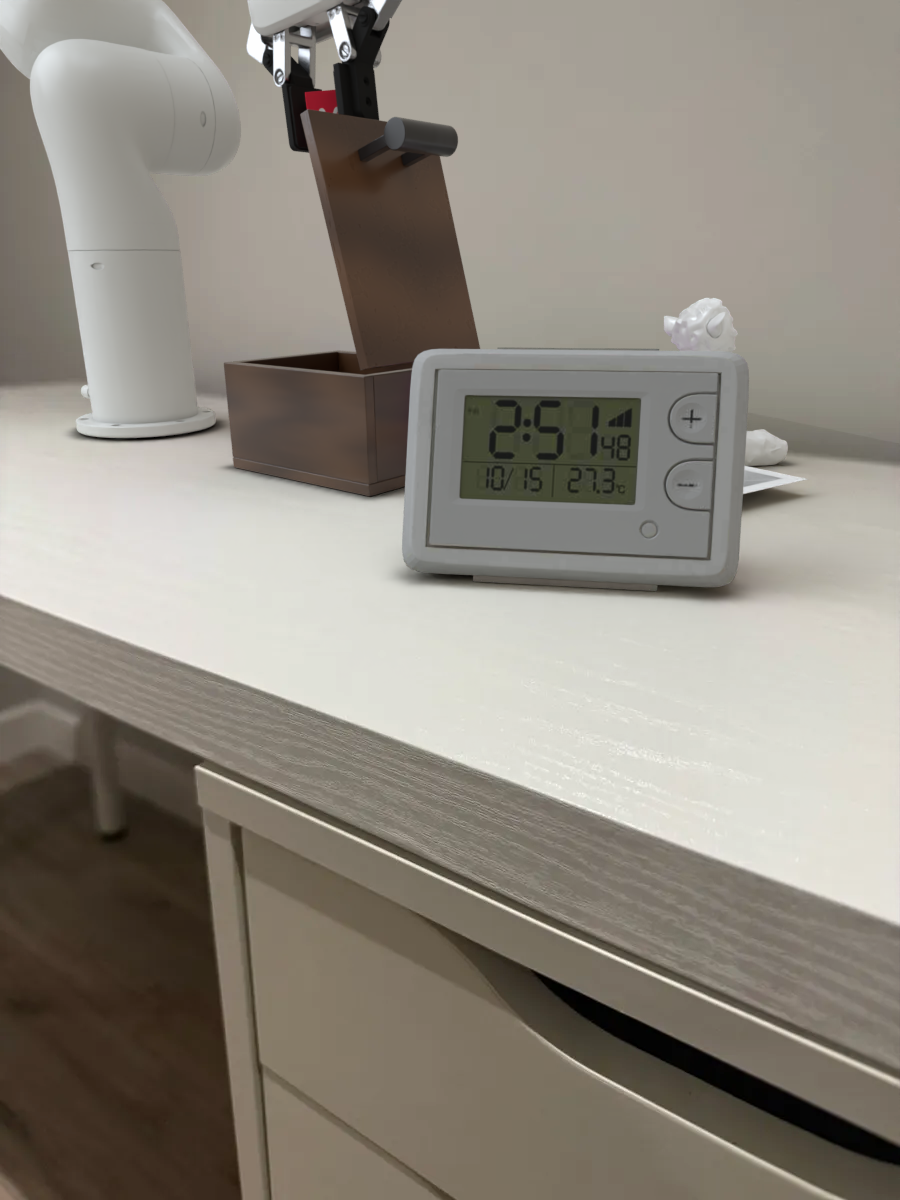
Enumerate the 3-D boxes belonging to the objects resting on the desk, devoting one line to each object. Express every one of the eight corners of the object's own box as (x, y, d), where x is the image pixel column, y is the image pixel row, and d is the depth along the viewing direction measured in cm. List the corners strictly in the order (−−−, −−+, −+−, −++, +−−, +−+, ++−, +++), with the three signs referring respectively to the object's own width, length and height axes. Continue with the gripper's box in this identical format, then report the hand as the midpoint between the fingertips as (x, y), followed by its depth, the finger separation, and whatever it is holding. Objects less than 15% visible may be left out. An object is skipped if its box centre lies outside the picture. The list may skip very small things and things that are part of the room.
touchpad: (554, 505, 56) (555, 471, 55) (710, 473, 64) (713, 444, 63) (645, 534, 50) (647, 497, 49) (805, 495, 58) (810, 462, 57)
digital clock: (384, 578, 43) (376, 355, 39) (451, 529, 51) (450, 339, 47) (727, 622, 38) (756, 367, 34) (743, 560, 46) (768, 347, 42)
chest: (233, 467, 67) (223, 362, 65) (343, 444, 76) (338, 350, 73) (369, 496, 59) (364, 376, 56) (477, 466, 67) (477, 360, 64)
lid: (299, 114, 53) (355, 76, 50) (426, 133, 61) (481, 102, 58) (359, 370, 56) (417, 352, 52) (473, 355, 64) (529, 339, 61)
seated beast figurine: (790, 463, 67) (812, 297, 63) (719, 480, 62) (738, 301, 58) (690, 445, 74) (704, 294, 70) (619, 458, 69) (629, 297, 65)
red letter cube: (315, 152, 61) (309, 103, 60) (358, 148, 61) (353, 99, 60) (311, 143, 58) (304, 92, 57) (356, 139, 58) (350, 88, 57)
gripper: (439, -225, 51) (466, 122, 57) (259, -112, 62) (296, 171, 67) (346, -281, 46) (386, 108, 51) (166, -146, 57) (215, 164, 62)
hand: (334, 140), depth 59 cm, fingers closed on red letter cube, 4 cm apart
